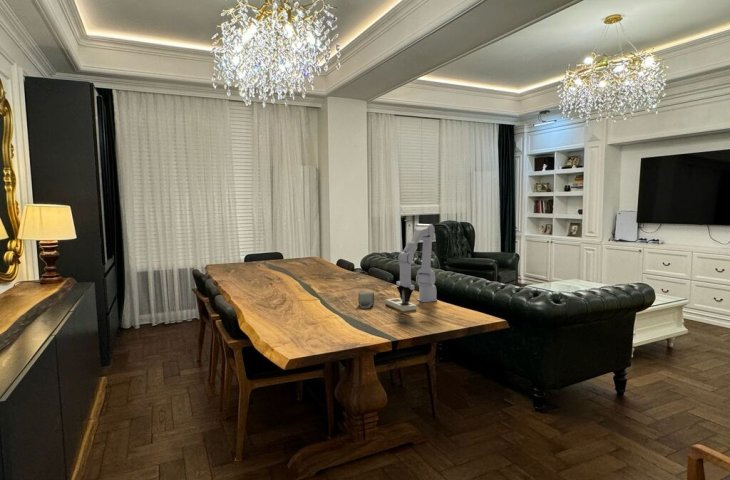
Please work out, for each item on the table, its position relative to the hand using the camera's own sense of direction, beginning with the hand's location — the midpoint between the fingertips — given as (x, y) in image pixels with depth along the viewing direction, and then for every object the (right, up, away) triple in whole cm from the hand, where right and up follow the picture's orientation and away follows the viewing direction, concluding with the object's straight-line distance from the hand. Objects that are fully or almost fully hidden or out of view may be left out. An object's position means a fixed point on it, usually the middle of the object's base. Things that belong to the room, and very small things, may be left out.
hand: (405, 300), depth 222 cm
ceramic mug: (-20, -4, +8) cm, 22 cm away
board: (-2, -4, +4) cm, 7 cm away
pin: (0, -2, 0) cm, 2 cm away
